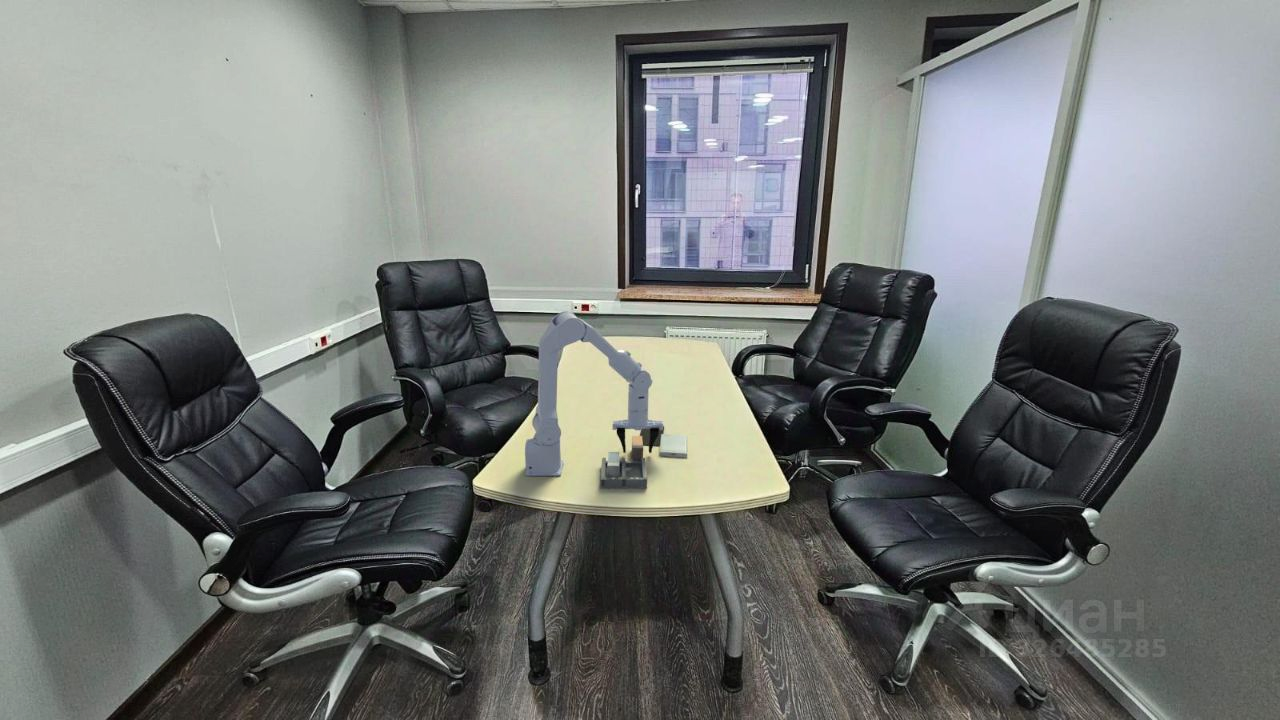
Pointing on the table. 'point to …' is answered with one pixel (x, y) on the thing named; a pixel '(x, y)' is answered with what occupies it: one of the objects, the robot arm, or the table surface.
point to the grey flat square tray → (625, 475)
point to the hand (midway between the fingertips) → (637, 451)
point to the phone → (646, 436)
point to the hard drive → (673, 445)
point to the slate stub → (613, 465)
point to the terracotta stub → (637, 448)
